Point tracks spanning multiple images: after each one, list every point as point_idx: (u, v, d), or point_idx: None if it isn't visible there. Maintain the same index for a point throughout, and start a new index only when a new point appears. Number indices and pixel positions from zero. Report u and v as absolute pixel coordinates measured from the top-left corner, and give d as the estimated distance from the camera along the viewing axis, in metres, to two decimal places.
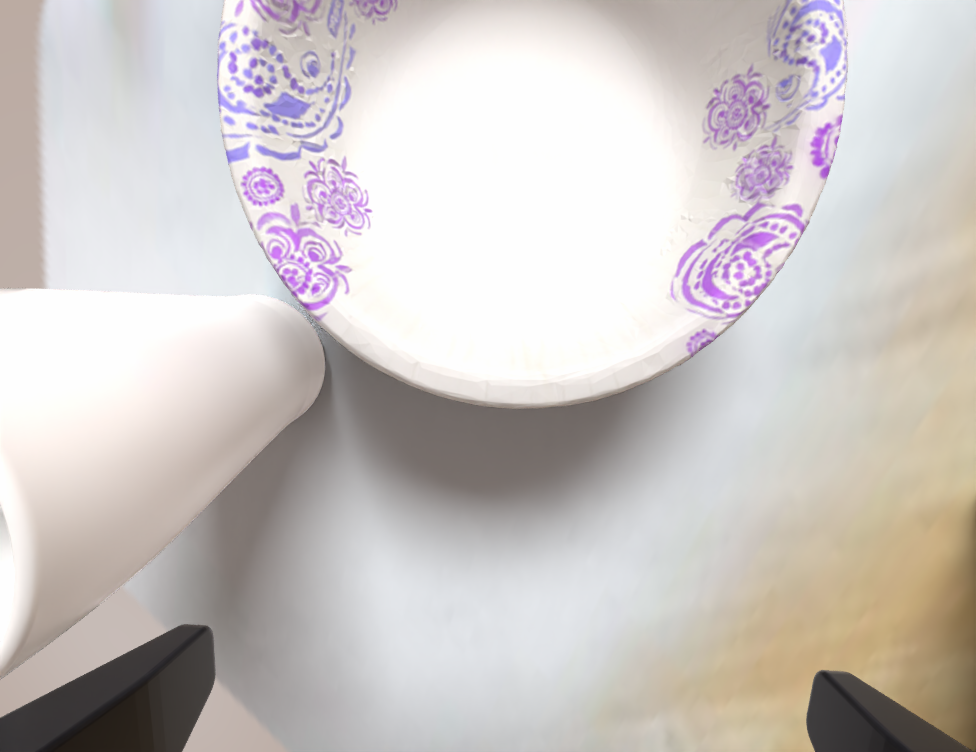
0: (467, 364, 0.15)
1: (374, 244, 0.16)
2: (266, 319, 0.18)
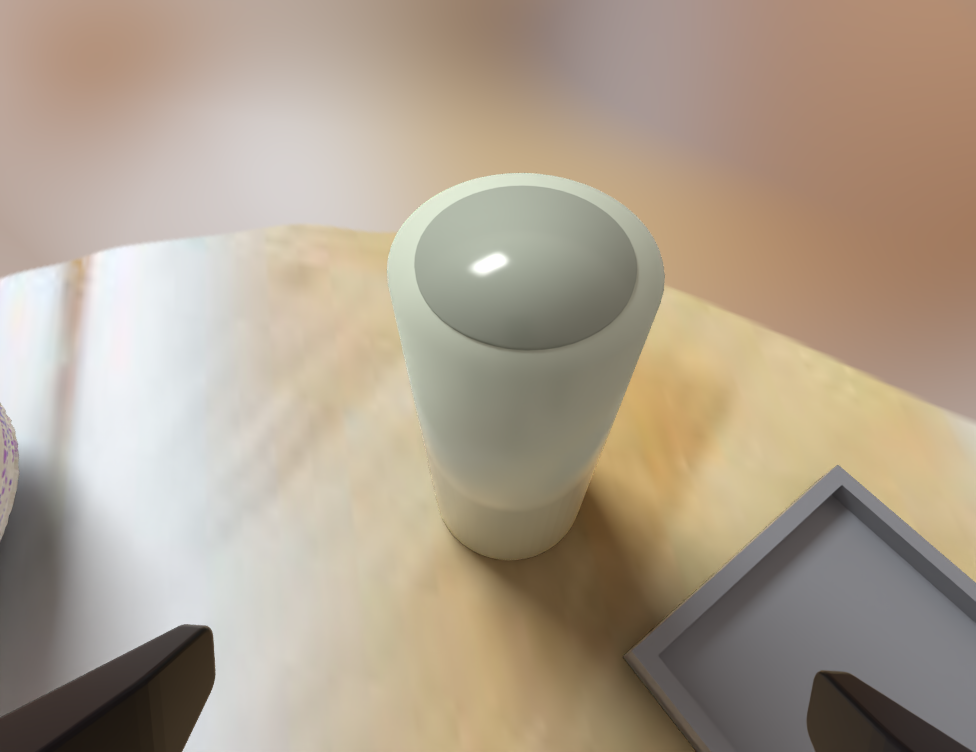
0: None
1: None
2: None
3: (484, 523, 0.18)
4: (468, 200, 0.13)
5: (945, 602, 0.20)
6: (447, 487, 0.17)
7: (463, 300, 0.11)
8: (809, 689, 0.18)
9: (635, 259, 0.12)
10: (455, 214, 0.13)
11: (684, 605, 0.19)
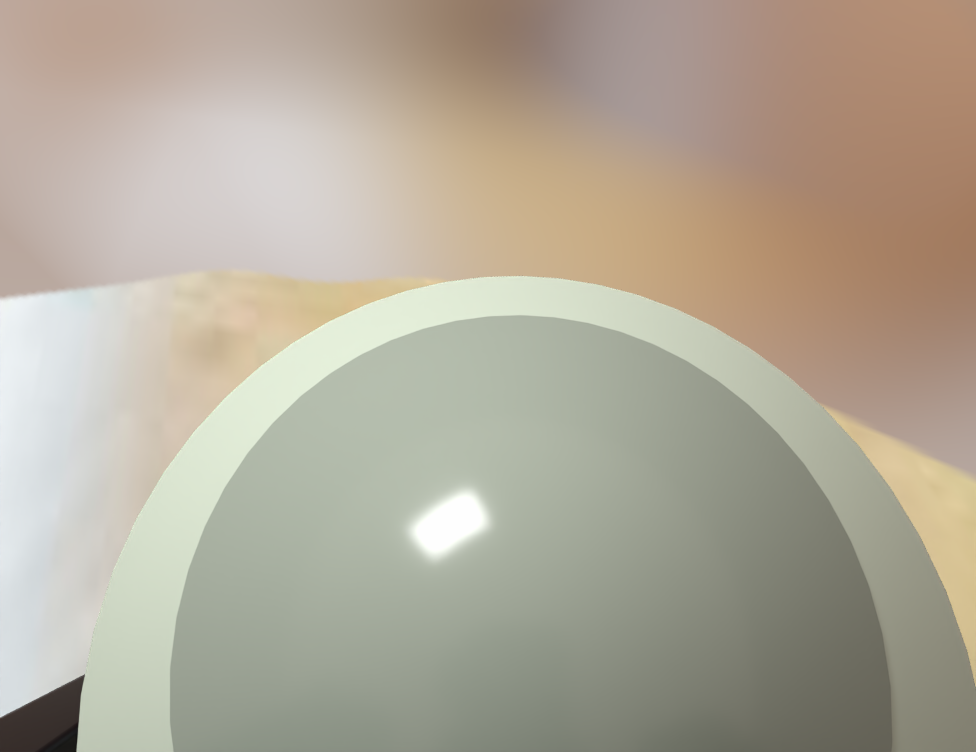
0: None
1: None
2: None
3: None
4: (376, 360, 0.05)
5: None
6: None
7: None
8: None
9: (862, 582, 0.04)
10: (338, 402, 0.05)
11: None
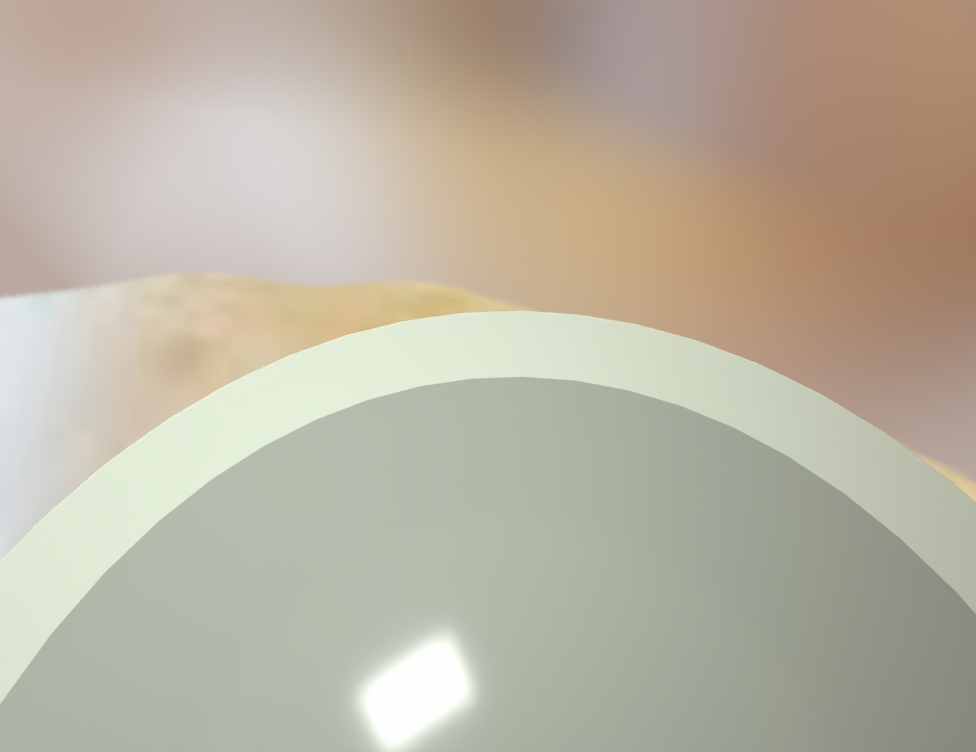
0: None
1: None
2: None
3: None
4: (291, 453, 0.03)
5: None
6: None
7: None
8: None
9: None
10: (223, 528, 0.03)
11: None
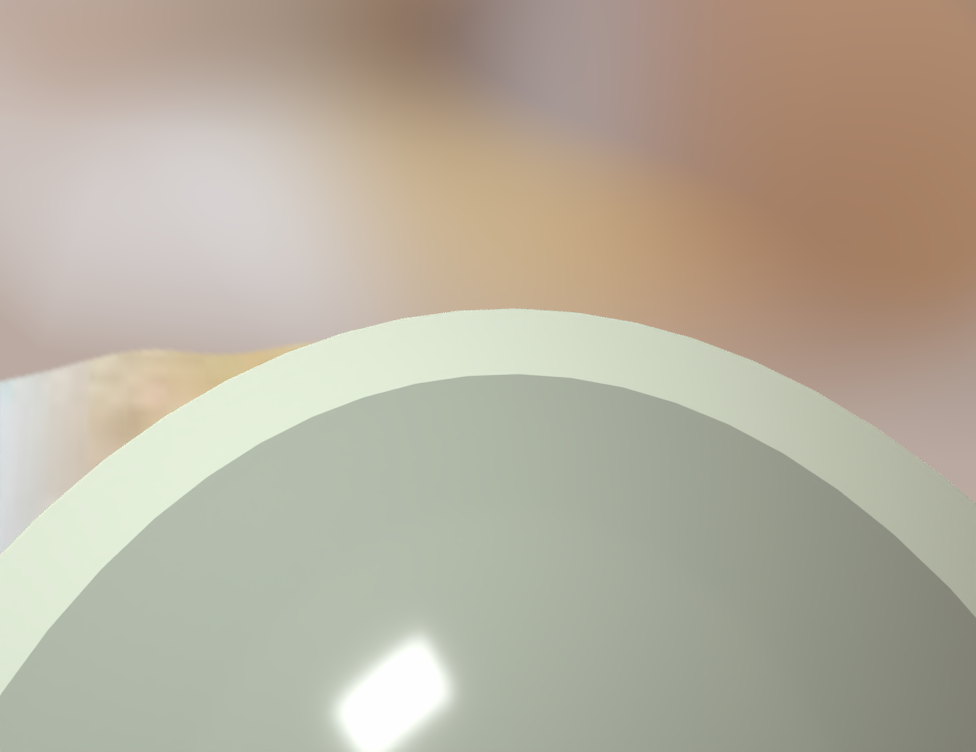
0: None
1: None
2: None
3: None
4: (287, 450, 0.03)
5: None
6: None
7: None
8: None
9: None
10: (220, 523, 0.03)
11: None
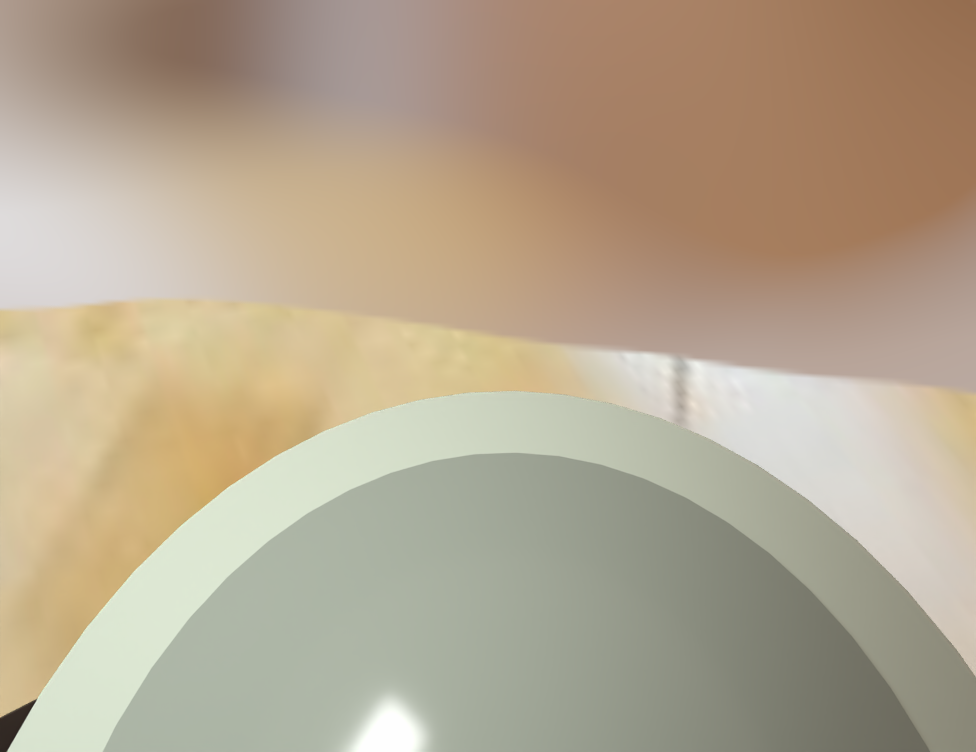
0: None
1: None
2: None
3: None
4: (330, 518, 0.04)
5: None
6: None
7: None
8: None
9: None
10: (278, 580, 0.04)
11: None
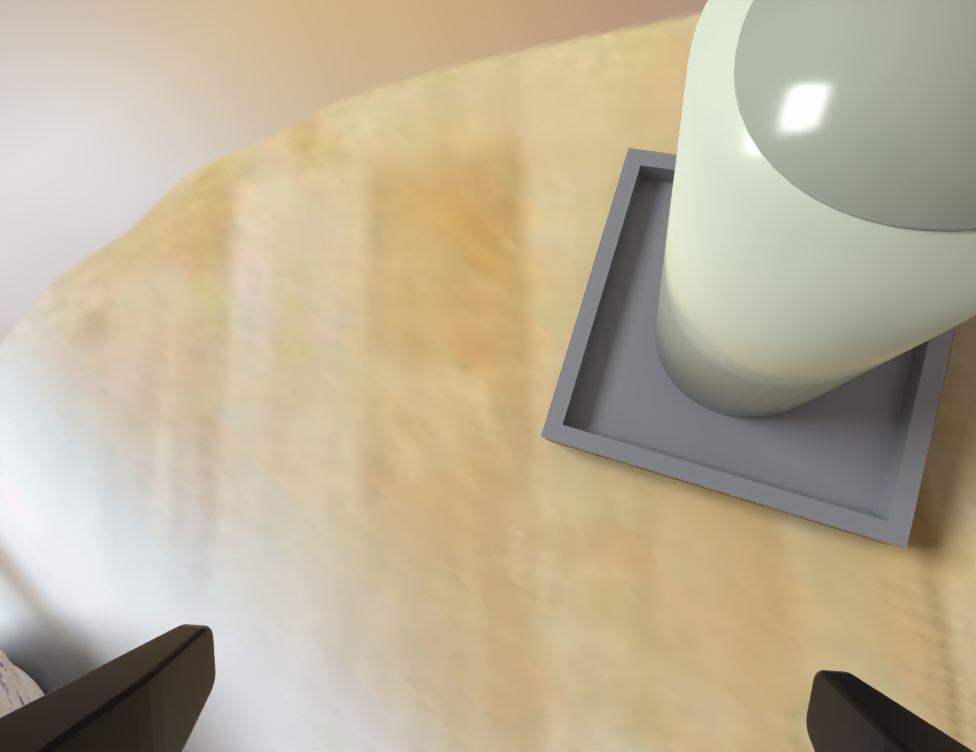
0: None
1: None
2: None
3: (767, 399, 0.15)
4: None
5: None
6: (723, 375, 0.14)
7: (864, 164, 0.07)
8: None
9: None
10: (770, 5, 0.08)
11: (562, 370, 0.20)
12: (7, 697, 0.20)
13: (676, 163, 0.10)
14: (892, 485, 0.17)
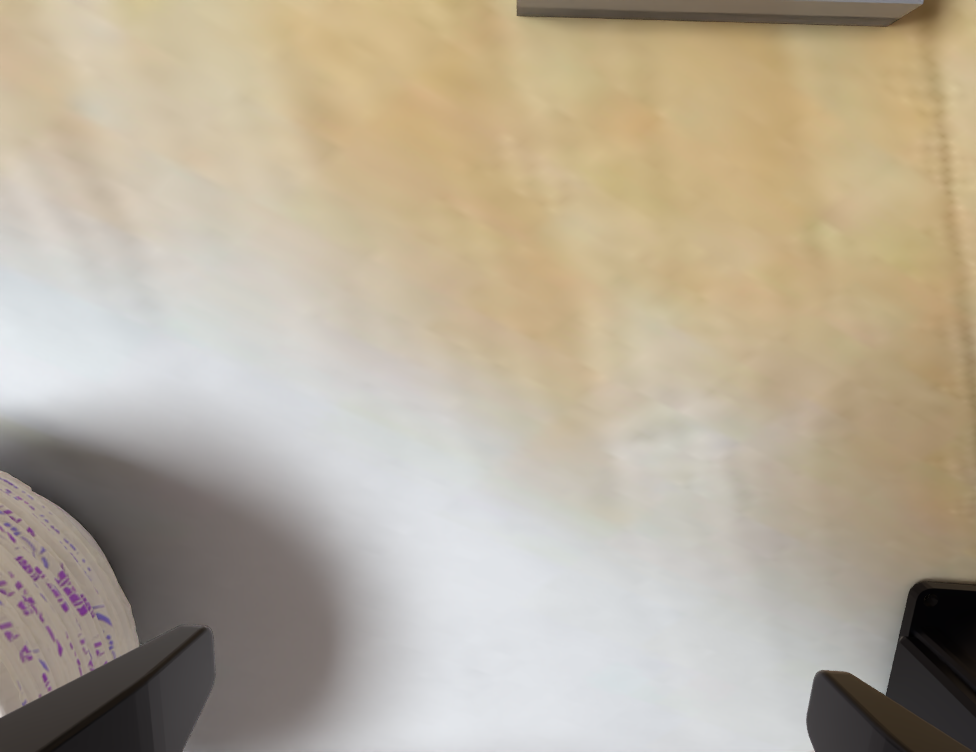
0: None
1: None
2: None
3: None
4: None
5: None
6: None
7: None
8: None
9: None
10: None
11: None
12: None
13: None
14: None
